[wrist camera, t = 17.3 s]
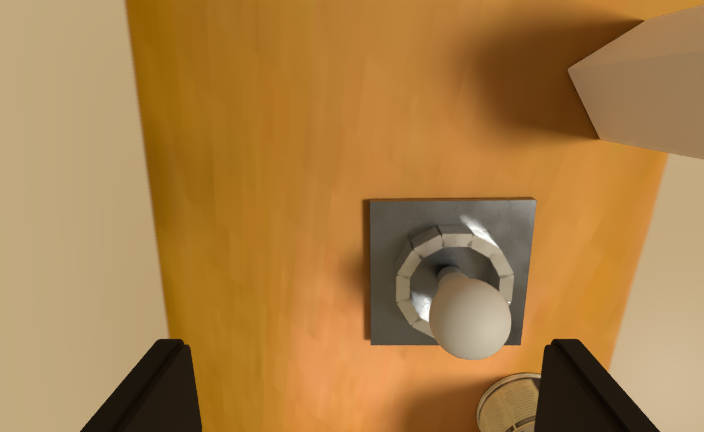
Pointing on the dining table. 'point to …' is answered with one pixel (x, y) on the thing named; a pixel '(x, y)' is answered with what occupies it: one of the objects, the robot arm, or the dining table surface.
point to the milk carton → (649, 85)
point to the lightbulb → (468, 316)
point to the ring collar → (444, 259)
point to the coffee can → (510, 404)
